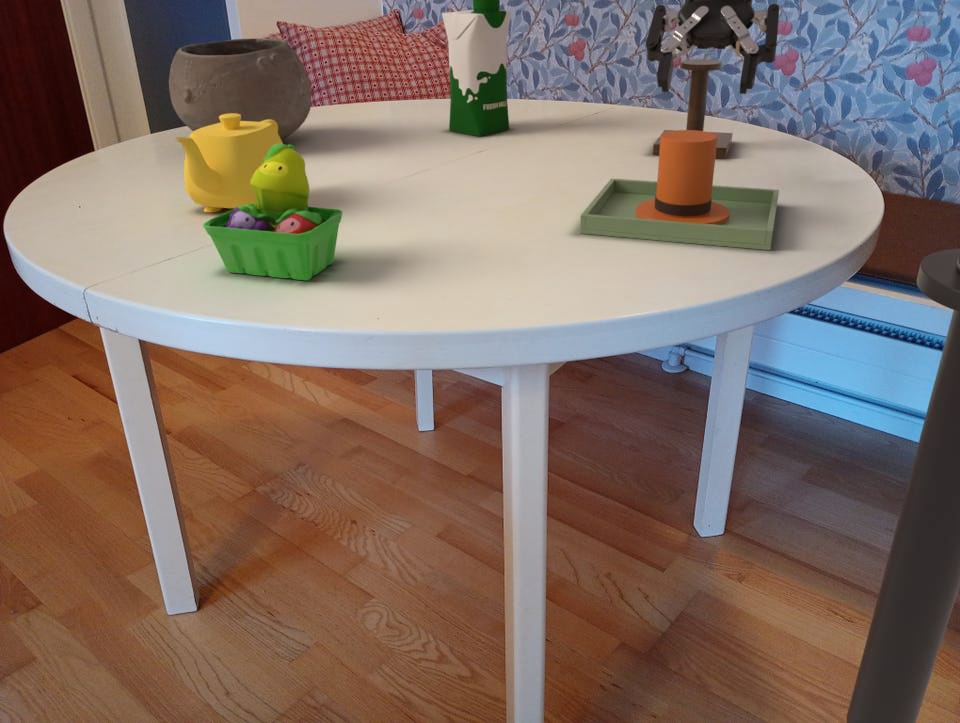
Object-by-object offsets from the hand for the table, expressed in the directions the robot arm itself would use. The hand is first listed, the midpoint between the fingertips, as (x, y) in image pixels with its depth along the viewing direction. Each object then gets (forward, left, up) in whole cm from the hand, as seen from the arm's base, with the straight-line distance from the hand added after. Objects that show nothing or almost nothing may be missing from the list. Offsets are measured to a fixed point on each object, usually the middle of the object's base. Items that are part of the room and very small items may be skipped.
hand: (703, 88), depth 92 cm
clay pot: (+70, -12, -13) cm, 72 cm away
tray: (0, +9, -12) cm, 15 cm away
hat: (0, +9, -12) cm, 15 cm away
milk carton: (+38, -30, -13) cm, 50 cm away
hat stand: (+3, -25, -12) cm, 28 cm away
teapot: (+51, +18, -13) cm, 55 cm away
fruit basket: (+35, +34, -13) cm, 50 cm away
